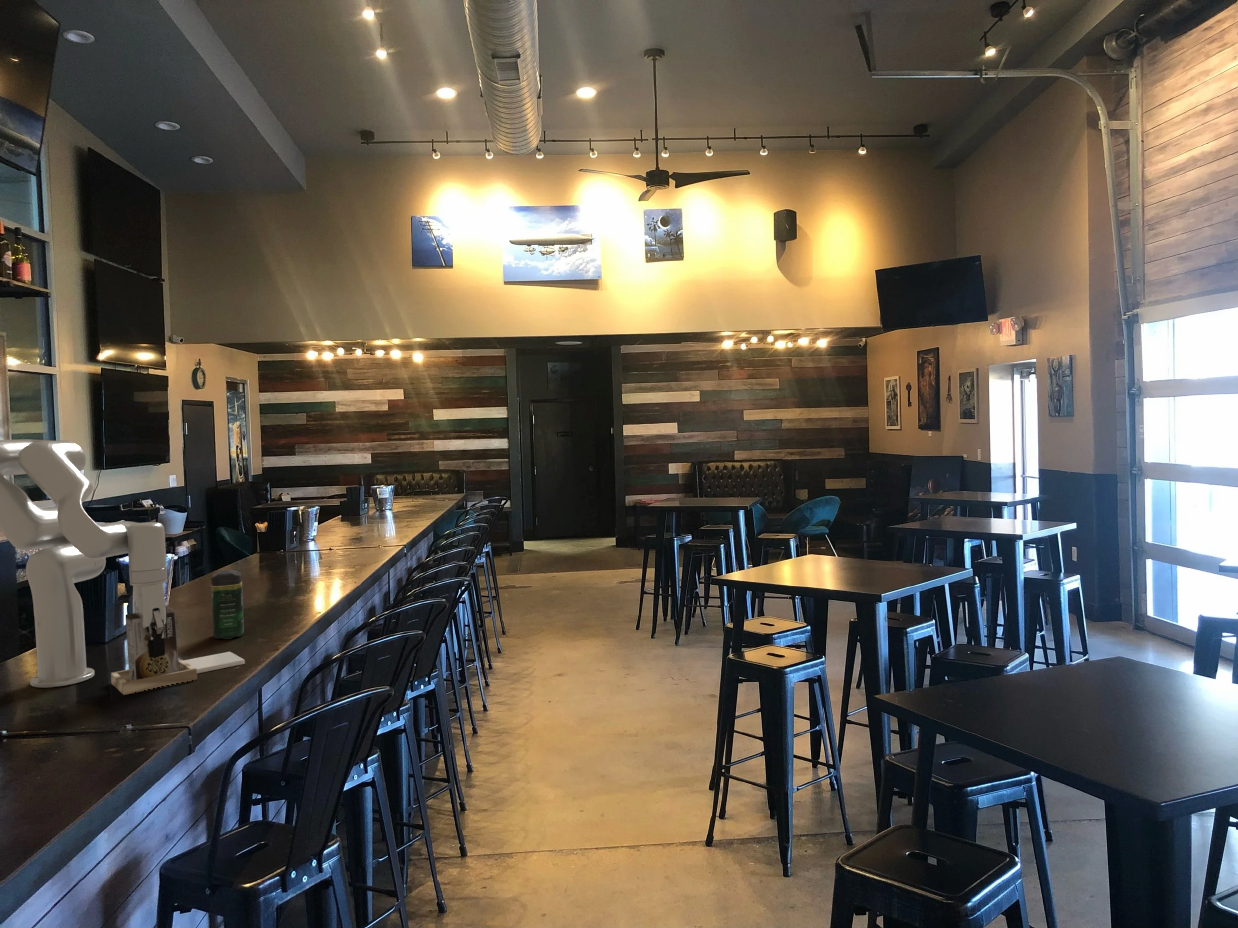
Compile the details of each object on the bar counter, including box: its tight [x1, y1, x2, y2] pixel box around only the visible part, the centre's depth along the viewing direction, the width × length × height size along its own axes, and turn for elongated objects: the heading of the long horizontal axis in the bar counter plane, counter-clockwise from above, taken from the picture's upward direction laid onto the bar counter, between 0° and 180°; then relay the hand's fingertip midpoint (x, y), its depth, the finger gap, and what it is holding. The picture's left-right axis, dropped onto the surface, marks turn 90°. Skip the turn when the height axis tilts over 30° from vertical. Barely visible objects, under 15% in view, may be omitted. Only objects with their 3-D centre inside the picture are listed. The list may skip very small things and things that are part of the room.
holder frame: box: [110, 658, 198, 696], centre depth 196 cm, size 12×15×2 cm
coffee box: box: [125, 607, 179, 681], centre depth 195 cm, size 9×6×16 cm
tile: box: [183, 651, 246, 674], centre depth 209 cm, size 11×11×1 cm
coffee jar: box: [210, 568, 245, 640], centre depth 238 cm, size 10×8×19 cm
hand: (152, 652), depth 195 cm, fingers closed on coffee box, 6 cm apart
